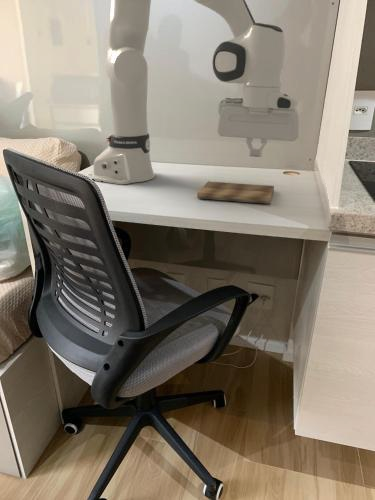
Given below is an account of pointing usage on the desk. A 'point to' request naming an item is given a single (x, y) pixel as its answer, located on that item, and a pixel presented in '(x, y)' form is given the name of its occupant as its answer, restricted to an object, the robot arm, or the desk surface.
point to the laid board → (240, 186)
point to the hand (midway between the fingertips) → (255, 156)
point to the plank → (235, 195)
